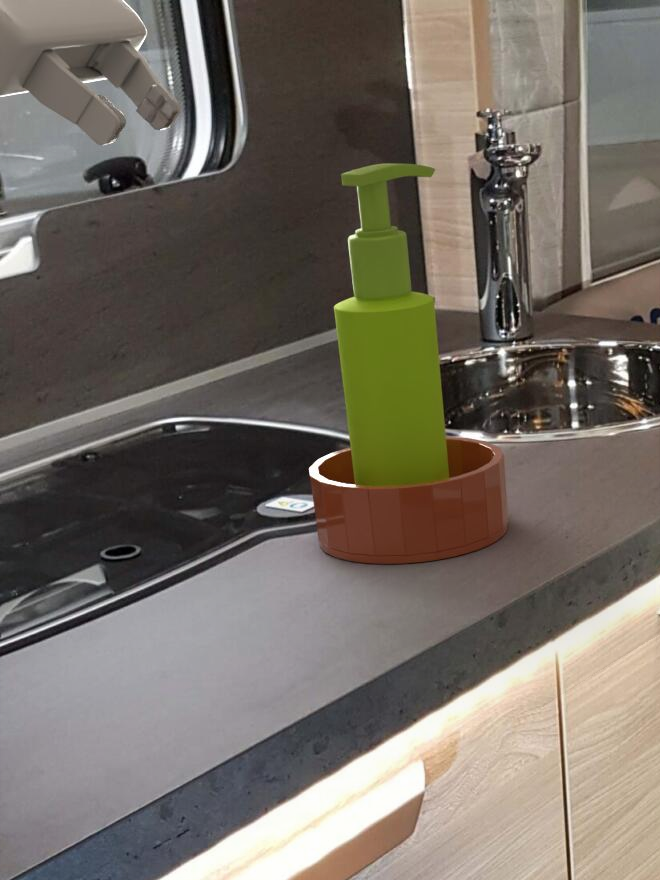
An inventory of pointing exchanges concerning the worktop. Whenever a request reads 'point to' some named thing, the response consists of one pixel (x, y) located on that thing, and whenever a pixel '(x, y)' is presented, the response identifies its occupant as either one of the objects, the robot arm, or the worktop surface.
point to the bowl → (412, 508)
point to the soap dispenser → (389, 347)
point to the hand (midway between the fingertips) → (145, 127)
